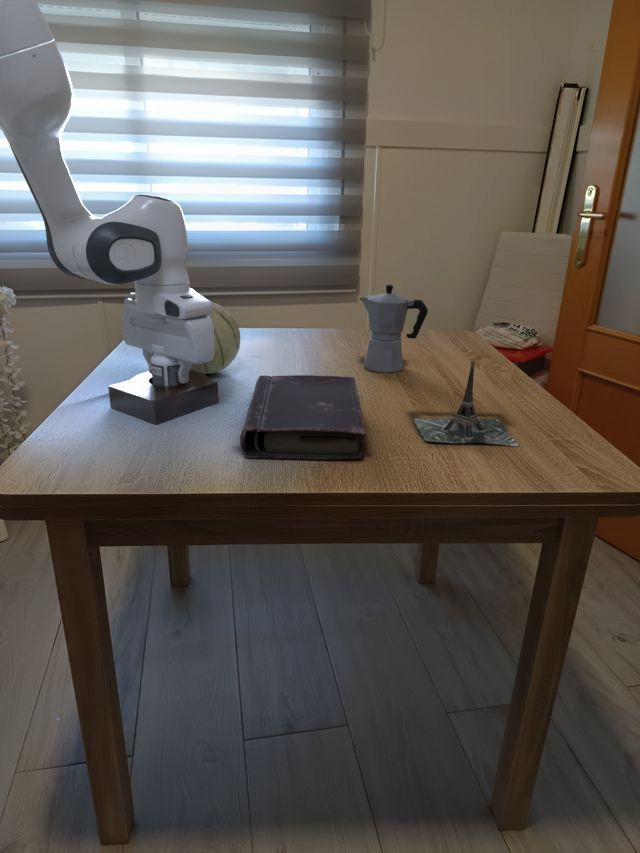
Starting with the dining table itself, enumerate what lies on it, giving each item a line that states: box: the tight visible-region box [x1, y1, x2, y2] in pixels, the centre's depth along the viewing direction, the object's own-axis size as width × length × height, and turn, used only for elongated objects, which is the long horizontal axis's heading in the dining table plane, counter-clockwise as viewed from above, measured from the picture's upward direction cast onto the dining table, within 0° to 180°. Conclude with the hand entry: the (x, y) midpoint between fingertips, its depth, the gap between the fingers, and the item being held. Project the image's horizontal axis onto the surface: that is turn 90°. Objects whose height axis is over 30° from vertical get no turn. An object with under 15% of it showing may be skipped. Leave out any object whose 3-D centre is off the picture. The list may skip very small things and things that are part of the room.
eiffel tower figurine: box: [412, 357, 520, 447], centre depth 91 cm, size 15×10×13 cm
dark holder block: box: [107, 370, 219, 426], centre depth 101 cm, size 16×14×4 cm
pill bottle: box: [151, 344, 184, 386], centre depth 101 cm, size 6×6×10 cm
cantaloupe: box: [190, 301, 241, 375], centre depth 116 cm, size 15×15×15 cm
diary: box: [239, 374, 367, 461], centre depth 93 cm, size 19×25×5 cm
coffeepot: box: [359, 284, 429, 374], centre depth 123 cm, size 15×9×18 cm, turn 61°
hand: (168, 378), depth 101 cm, fingers closed on pill bottle, 5 cm apart
